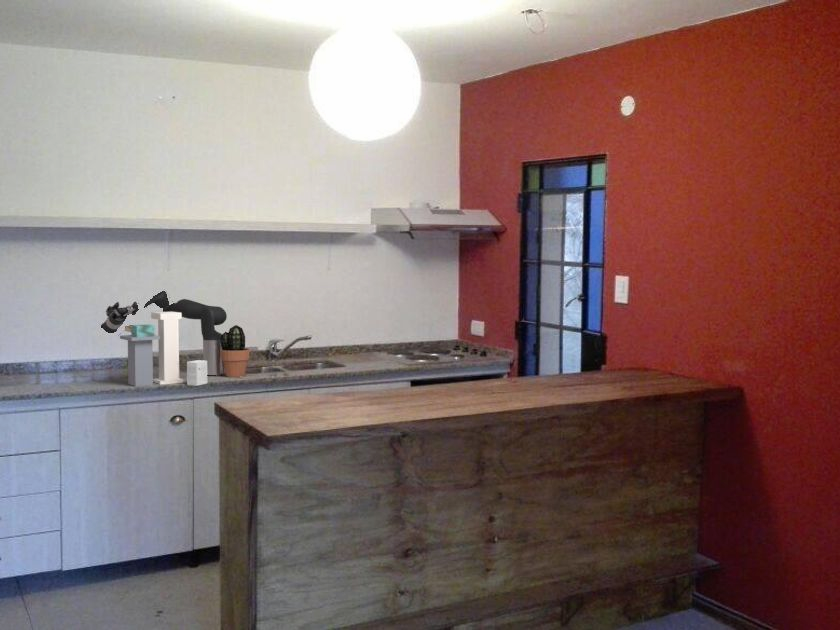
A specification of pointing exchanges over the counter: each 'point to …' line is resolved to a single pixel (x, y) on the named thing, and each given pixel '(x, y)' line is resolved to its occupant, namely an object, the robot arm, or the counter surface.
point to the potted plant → (234, 352)
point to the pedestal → (140, 360)
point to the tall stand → (168, 347)
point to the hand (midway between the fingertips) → (127, 303)
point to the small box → (197, 372)
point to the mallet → (140, 330)
